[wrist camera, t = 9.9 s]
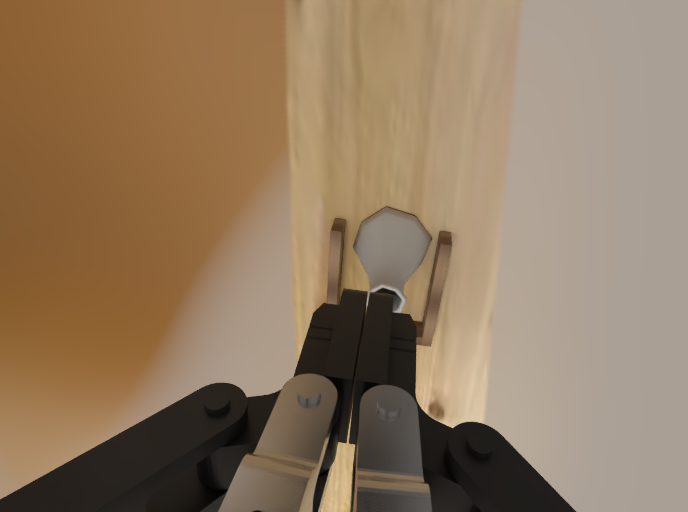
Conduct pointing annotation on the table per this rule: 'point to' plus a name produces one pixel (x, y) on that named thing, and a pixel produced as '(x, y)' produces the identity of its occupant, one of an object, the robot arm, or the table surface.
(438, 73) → the table surface
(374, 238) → the flask
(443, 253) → the corral
